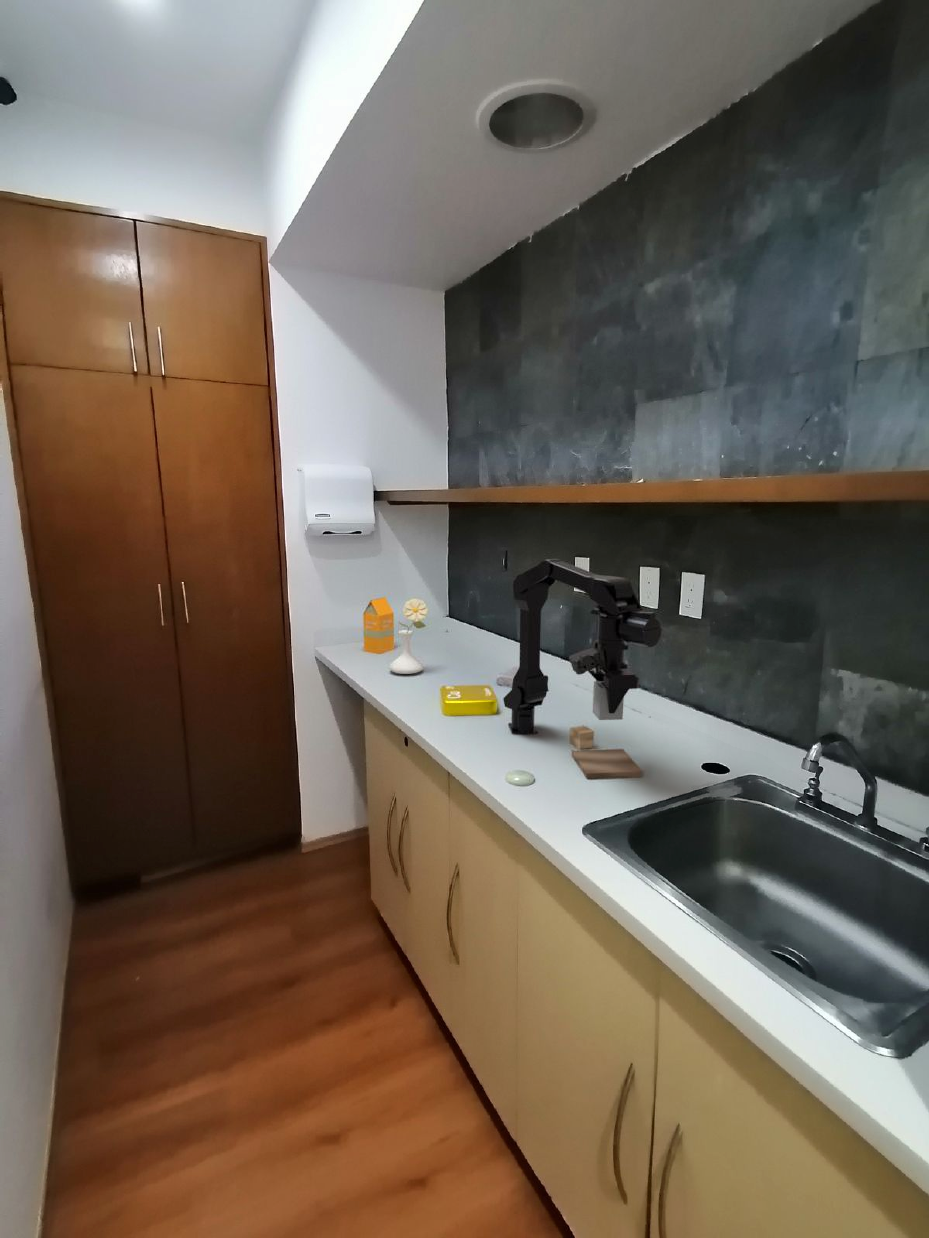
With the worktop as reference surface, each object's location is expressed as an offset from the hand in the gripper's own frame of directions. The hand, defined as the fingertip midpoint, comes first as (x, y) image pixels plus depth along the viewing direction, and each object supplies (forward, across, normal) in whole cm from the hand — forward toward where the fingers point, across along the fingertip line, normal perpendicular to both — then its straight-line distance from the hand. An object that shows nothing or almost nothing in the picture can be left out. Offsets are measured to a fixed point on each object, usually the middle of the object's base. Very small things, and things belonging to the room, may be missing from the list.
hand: (607, 708), depth 134 cm
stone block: (+13, -63, -8) cm, 65 cm away
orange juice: (+13, -109, -54) cm, 122 cm away
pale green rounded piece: (+13, +5, -20) cm, 24 cm away
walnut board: (+13, 0, 0) cm, 13 cm away
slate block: (+2, 0, 0) cm, 2 cm away
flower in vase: (+13, -78, -42) cm, 90 cm away
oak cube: (+13, -12, -2) cm, 18 cm away
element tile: (+14, -42, -26) cm, 51 cm away
